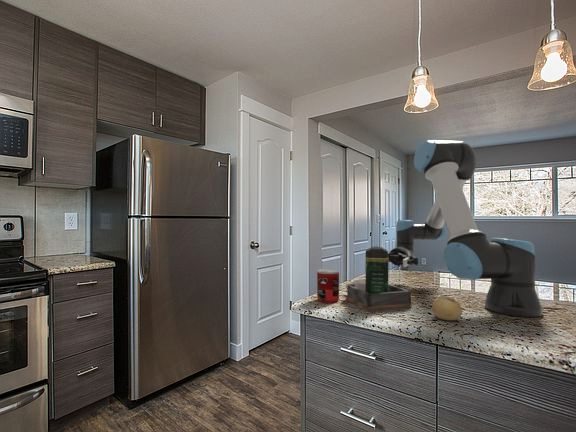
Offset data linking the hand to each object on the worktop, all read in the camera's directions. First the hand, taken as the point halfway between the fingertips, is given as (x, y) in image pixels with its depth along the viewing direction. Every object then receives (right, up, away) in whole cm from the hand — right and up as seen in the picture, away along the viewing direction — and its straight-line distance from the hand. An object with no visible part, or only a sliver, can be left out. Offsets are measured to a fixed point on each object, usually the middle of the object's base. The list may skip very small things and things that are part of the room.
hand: (385, 262), depth 117 cm
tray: (-6, -13, -8) cm, 17 cm away
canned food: (-22, -14, -4) cm, 27 cm away
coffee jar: (-6, -12, -8) cm, 16 cm away
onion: (+11, -13, -25) cm, 30 cm away
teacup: (-9, -14, +4) cm, 17 cm away
